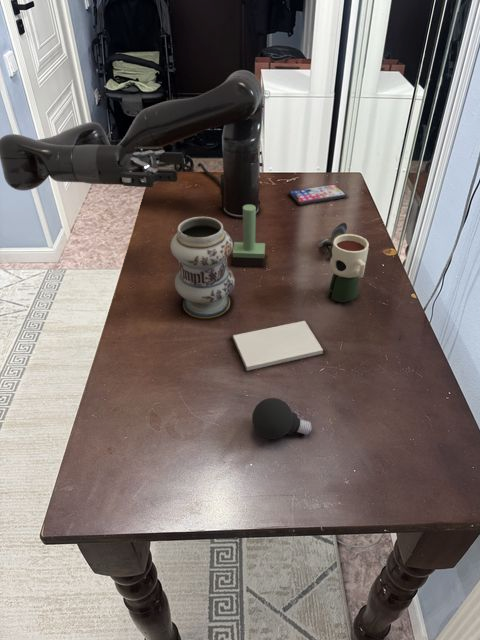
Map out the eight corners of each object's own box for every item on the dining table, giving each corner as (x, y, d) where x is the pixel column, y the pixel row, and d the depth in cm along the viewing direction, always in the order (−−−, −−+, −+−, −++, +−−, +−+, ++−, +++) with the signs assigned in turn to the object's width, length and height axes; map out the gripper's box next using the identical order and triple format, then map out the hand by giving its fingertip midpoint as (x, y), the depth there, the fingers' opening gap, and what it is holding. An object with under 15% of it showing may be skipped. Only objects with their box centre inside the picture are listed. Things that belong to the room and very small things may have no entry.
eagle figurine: (354, 258, 115) (353, 232, 121) (341, 237, 111) (340, 211, 116) (324, 269, 119) (325, 243, 124) (310, 249, 114) (311, 224, 120)
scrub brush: (232, 266, 114) (231, 211, 105) (234, 255, 117) (233, 201, 108) (264, 267, 114) (265, 213, 104) (264, 256, 117) (266, 203, 108)
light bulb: (323, 427, 75) (262, 410, 72) (306, 457, 78) (247, 441, 75) (316, 401, 80) (259, 385, 78) (300, 430, 83) (245, 415, 81)
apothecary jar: (199, 280, 109) (193, 205, 97) (246, 298, 105) (245, 221, 93) (165, 309, 102) (154, 231, 89) (213, 329, 97) (209, 250, 85)
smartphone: (347, 194, 139) (299, 202, 135) (346, 198, 140) (299, 206, 136) (335, 183, 144) (288, 190, 140) (334, 186, 145) (288, 194, 141)
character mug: (316, 285, 109) (322, 233, 100) (343, 278, 111) (352, 226, 102) (340, 314, 102) (349, 260, 93) (370, 306, 104) (381, 253, 95)
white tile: (246, 370, 89) (246, 367, 89) (232, 339, 96) (232, 335, 95) (322, 353, 93) (323, 349, 92) (304, 324, 99) (304, 320, 99)
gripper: (112, 168, 108) (186, 170, 108) (95, 198, 98) (176, 200, 98) (105, 133, 103) (183, 135, 103) (86, 160, 93) (172, 162, 92)
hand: (180, 166), depth 100 cm, fingers open, 8 cm apart
